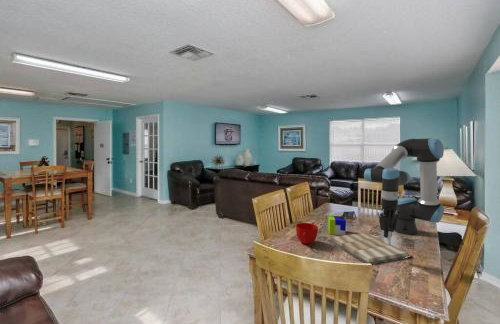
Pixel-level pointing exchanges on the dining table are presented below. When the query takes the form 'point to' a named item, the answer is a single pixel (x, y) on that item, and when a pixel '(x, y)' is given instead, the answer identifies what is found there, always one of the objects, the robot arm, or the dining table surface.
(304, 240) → the ceramic cup
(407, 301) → the dining table surface
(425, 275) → the dining table surface
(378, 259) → the birch plank
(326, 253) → the dining table surface
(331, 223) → the puzzle toy
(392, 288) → the dining table surface
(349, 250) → the floor section
